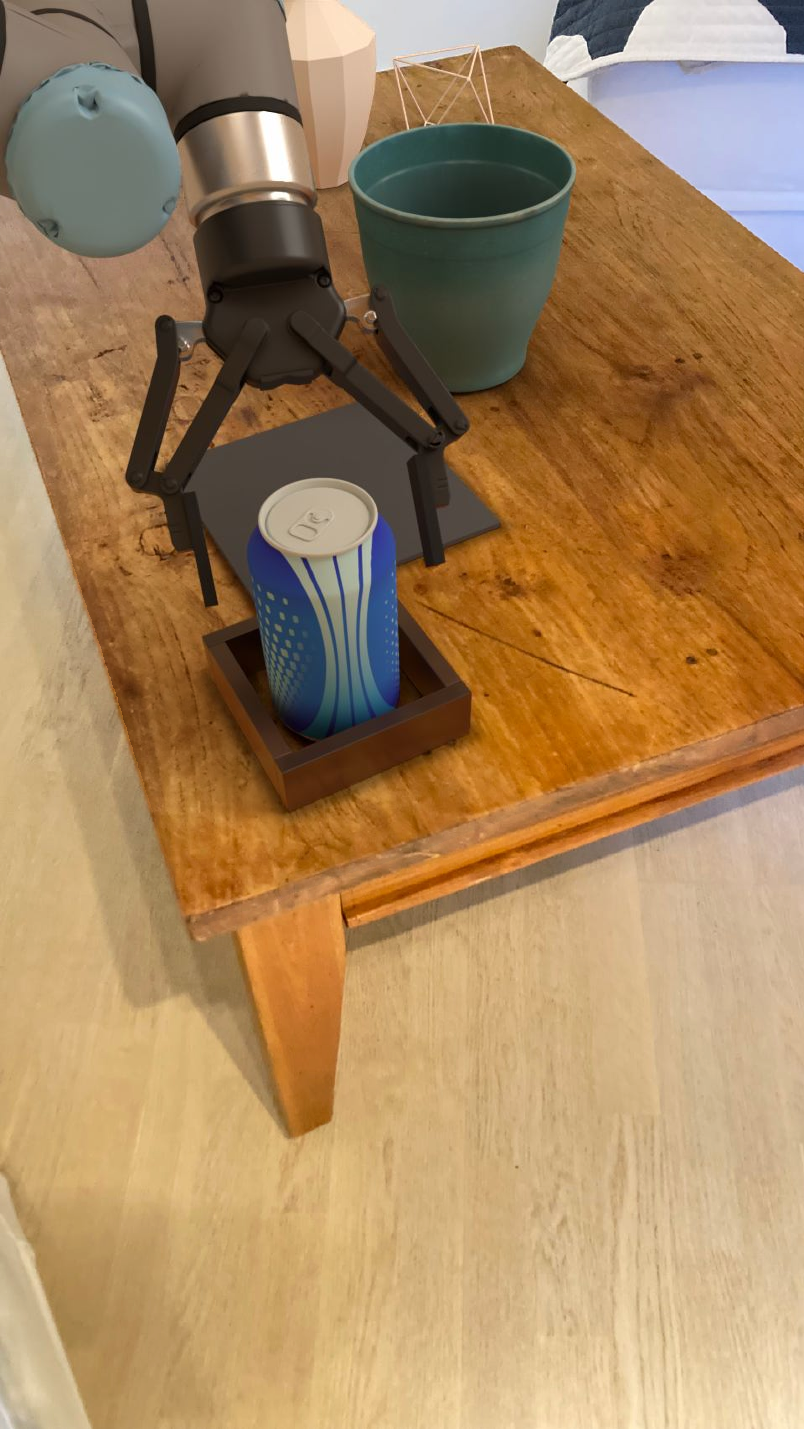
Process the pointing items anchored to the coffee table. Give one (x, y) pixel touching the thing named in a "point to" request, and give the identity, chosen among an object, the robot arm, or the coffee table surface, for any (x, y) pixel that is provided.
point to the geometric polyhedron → (449, 85)
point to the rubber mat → (323, 449)
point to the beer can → (326, 606)
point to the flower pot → (464, 240)
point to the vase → (331, 82)
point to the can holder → (357, 747)
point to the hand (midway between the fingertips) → (325, 586)
